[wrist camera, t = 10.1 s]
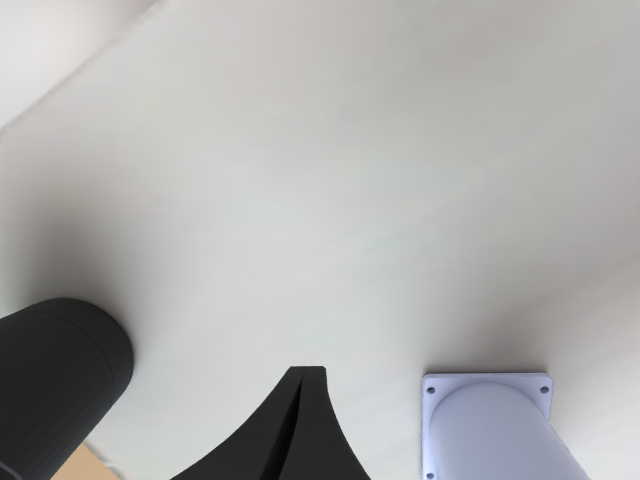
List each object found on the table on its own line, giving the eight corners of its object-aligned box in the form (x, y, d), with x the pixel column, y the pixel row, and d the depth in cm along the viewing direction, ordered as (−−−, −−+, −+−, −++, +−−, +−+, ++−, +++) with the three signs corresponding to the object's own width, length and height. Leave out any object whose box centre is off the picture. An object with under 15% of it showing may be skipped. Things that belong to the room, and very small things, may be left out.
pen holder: (-9, 330, 25) (-236, 445, 15) (80, 265, 23) (-116, 349, 13) (78, 425, 26) (-77, 583, 17) (168, 371, 24) (51, 515, 15)
